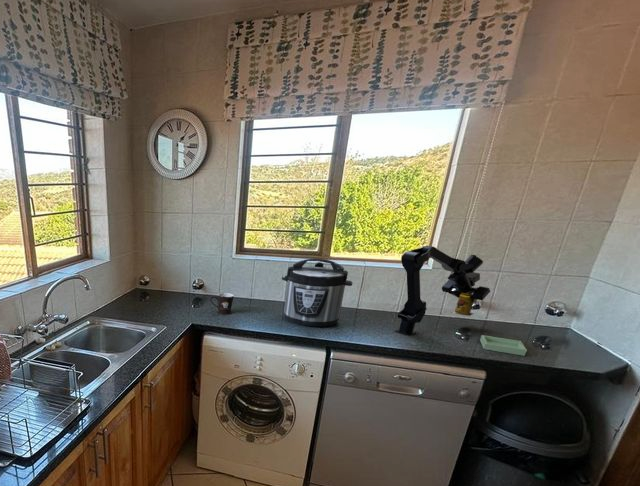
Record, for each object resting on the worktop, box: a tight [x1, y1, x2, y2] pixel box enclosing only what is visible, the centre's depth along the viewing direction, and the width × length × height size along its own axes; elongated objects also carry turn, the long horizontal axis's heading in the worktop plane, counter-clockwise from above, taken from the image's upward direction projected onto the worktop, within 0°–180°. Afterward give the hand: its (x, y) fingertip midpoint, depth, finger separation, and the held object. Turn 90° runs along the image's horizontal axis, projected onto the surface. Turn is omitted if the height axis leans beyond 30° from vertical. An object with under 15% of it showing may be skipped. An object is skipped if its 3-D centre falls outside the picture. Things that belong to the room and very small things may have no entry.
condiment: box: [451, 292, 475, 317], centre depth 197 cm, size 7×8×12 cm
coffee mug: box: [209, 292, 235, 315], centre depth 219 cm, size 12×9×10 cm
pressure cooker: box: [281, 258, 353, 328], centre depth 203 cm, size 30×28×32 cm
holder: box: [479, 334, 528, 357], centre depth 174 cm, size 14×13×3 cm
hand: (469, 300), depth 197 cm, fingers closed on condiment, 6 cm apart
